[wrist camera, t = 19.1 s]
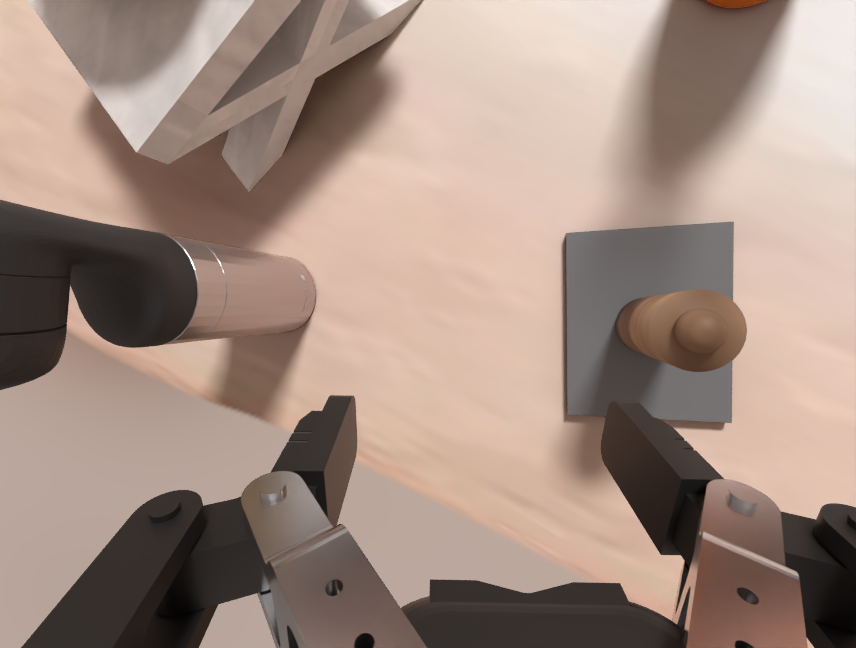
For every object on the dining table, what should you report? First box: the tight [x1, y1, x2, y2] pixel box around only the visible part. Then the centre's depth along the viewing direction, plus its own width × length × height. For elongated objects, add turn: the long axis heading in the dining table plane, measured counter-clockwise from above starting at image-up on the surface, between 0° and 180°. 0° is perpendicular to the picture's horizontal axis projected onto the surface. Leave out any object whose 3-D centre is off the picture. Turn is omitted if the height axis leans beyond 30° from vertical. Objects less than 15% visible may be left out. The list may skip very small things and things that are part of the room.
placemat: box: [566, 222, 734, 423], centre depth 38 cm, size 14×18×1 cm
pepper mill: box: [615, 289, 747, 372], centre depth 30 cm, size 5×5×15 cm
